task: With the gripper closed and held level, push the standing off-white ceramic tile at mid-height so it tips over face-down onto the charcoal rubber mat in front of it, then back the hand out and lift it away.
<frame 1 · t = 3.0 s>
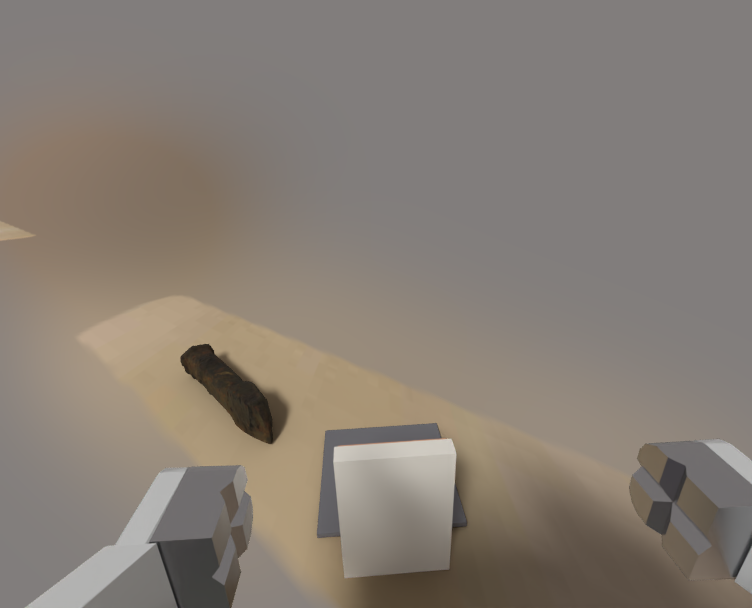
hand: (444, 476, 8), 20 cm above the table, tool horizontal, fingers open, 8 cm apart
mat: (386, 473, 34), on the table
tile: (396, 562, 27), on the table
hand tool: (235, 402, 45), on the table
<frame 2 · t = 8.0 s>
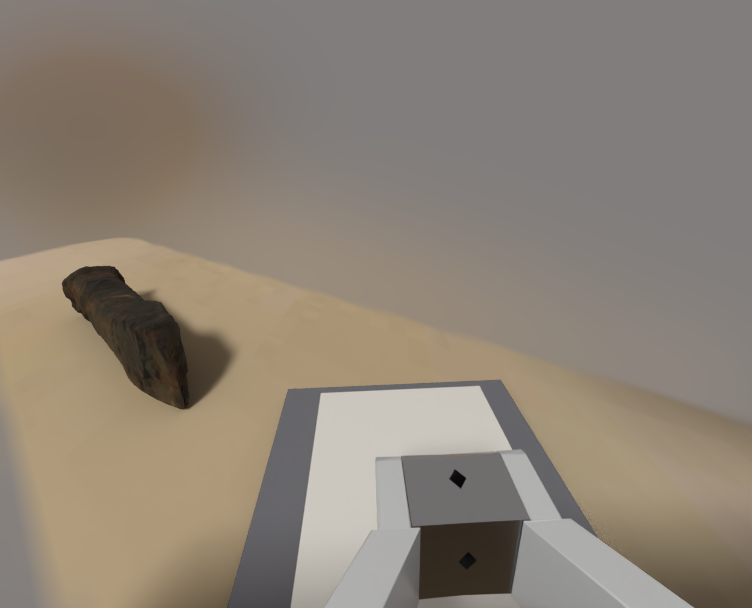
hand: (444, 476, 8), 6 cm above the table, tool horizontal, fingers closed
mat: (408, 472, 15), on the table
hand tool: (144, 350, 26), on the table
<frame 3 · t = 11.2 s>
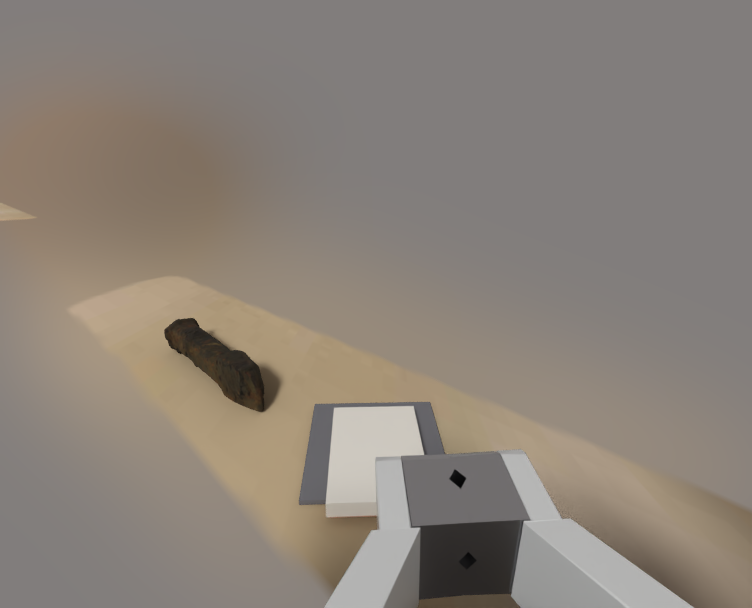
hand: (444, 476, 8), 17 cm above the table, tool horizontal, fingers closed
mat: (375, 446, 33), on the table
tile: (380, 510, 26), point 1 cm above the table, tilted 90°, touching mat
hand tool: (223, 375, 43), on the table
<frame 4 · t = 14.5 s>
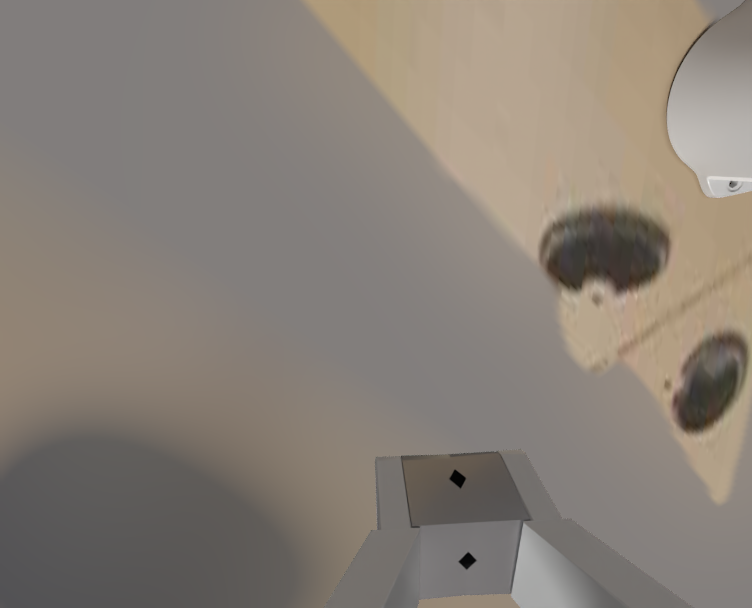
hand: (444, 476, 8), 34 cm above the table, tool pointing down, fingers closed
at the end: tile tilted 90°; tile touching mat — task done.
